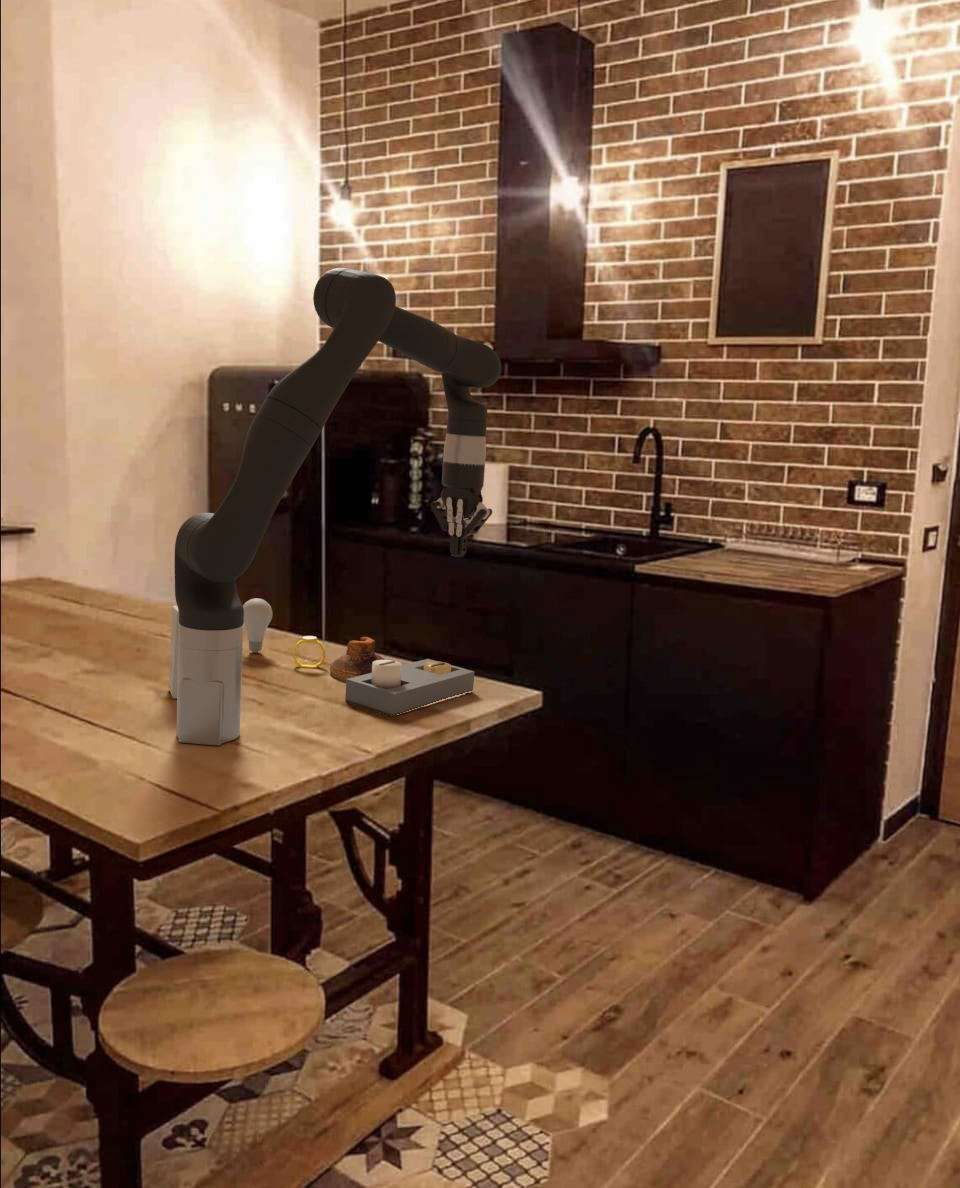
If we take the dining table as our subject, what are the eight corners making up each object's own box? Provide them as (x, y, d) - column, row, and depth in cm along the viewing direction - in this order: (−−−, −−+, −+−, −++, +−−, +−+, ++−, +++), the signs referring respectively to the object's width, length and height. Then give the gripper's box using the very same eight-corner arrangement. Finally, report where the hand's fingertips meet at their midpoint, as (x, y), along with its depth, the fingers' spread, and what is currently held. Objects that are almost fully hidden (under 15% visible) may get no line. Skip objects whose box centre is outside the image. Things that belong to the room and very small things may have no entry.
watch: (293, 669, 191) (292, 639, 190) (294, 666, 194) (293, 635, 193) (325, 669, 192) (324, 638, 191) (325, 665, 195) (324, 635, 194)
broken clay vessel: (354, 688, 182) (356, 649, 181) (317, 672, 191) (319, 634, 190) (405, 680, 190) (407, 642, 189) (367, 664, 199) (369, 628, 197)
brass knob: (438, 691, 181) (439, 669, 180) (416, 685, 184) (418, 663, 183) (455, 686, 185) (456, 664, 184) (434, 680, 188) (435, 659, 187)
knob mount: (393, 717, 167) (394, 693, 166) (345, 701, 173) (346, 679, 173) (472, 692, 185) (474, 671, 184) (426, 679, 191) (428, 658, 190)
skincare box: (172, 699, 167) (174, 612, 164) (168, 689, 173) (169, 604, 170) (223, 697, 171) (226, 611, 168) (218, 687, 176) (220, 603, 173)
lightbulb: (267, 657, 197) (269, 602, 195) (236, 655, 197) (237, 600, 195) (273, 650, 203) (276, 596, 201) (243, 647, 203) (245, 594, 201)
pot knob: (386, 692, 169) (388, 668, 169) (365, 685, 172) (366, 661, 171) (406, 686, 173) (407, 663, 173) (384, 680, 176) (386, 657, 175)
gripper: (506, 464, 179) (498, 560, 183) (448, 457, 187) (442, 549, 190) (481, 464, 173) (473, 563, 177) (422, 457, 181) (416, 552, 184)
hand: (457, 556), depth 183 cm, fingers closed
